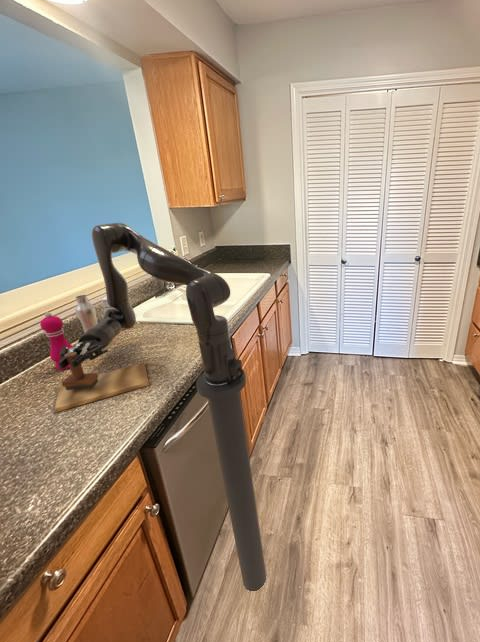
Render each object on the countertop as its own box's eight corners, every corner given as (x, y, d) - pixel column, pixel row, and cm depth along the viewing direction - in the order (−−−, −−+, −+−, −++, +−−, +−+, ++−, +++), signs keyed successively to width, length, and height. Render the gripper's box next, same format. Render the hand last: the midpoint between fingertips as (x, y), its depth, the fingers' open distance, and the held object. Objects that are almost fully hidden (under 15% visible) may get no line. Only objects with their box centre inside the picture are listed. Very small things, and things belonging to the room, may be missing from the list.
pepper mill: (82, 358, 118) (64, 307, 110) (73, 369, 111) (53, 315, 103) (61, 361, 117) (41, 309, 109) (50, 371, 110) (28, 317, 102)
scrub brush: (99, 380, 99) (88, 349, 95) (92, 388, 95) (81, 356, 91) (73, 382, 99) (60, 351, 94) (64, 391, 95) (51, 358, 91)
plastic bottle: (87, 349, 124) (70, 300, 117) (87, 343, 130) (71, 296, 122) (106, 344, 127) (91, 296, 120) (105, 338, 133) (90, 292, 125)
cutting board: (144, 365, 111) (144, 362, 111) (149, 385, 100) (148, 381, 99) (61, 387, 101) (60, 384, 100) (55, 412, 89) (54, 408, 89)
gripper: (72, 329, 105) (36, 355, 89) (116, 326, 105) (88, 351, 90) (79, 349, 108) (46, 378, 92) (122, 346, 108) (96, 374, 93)
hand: (67, 365), depth 91 cm, fingers closed on scrub brush, 3 cm apart
